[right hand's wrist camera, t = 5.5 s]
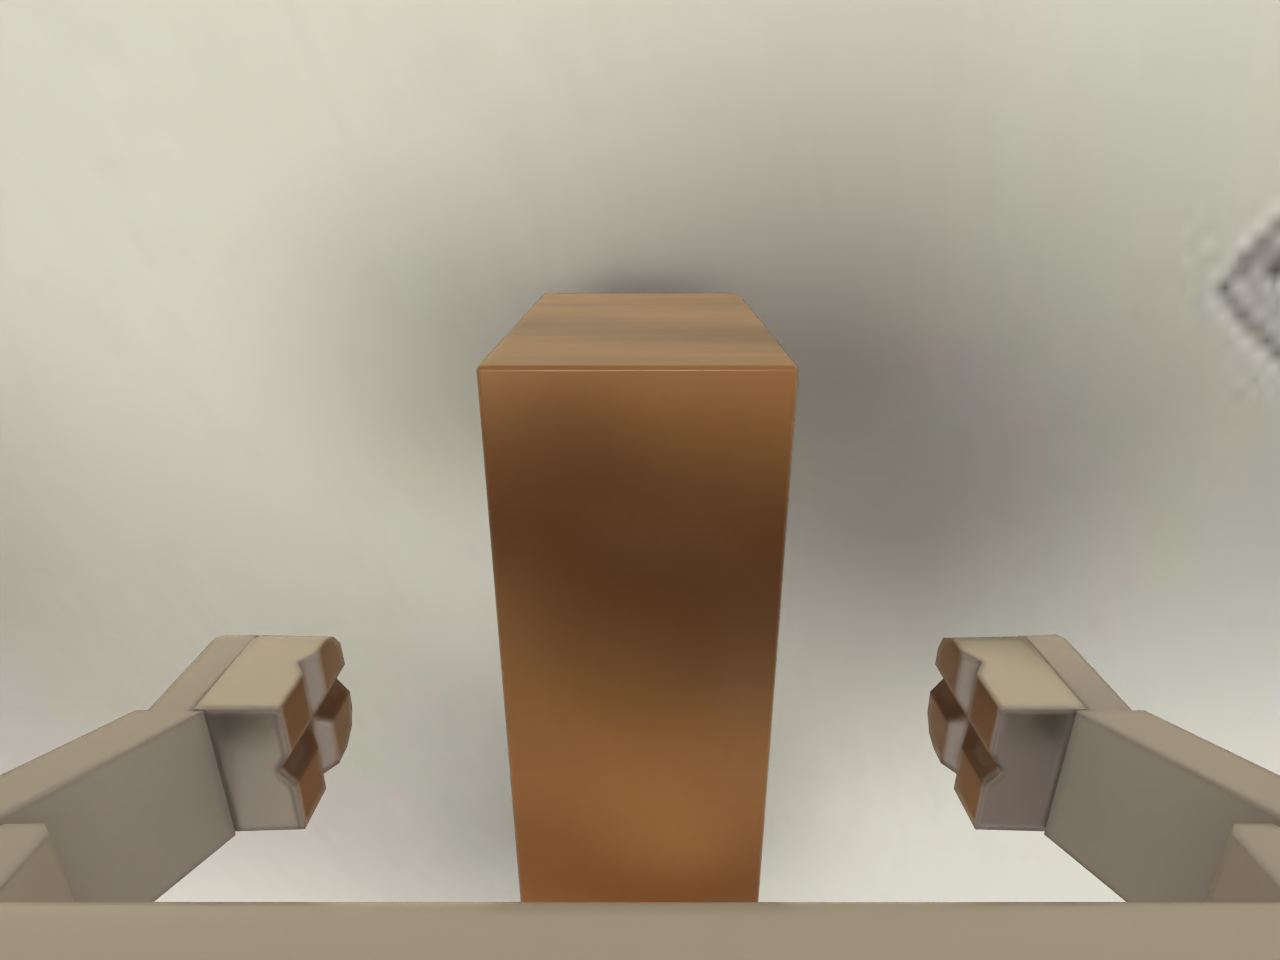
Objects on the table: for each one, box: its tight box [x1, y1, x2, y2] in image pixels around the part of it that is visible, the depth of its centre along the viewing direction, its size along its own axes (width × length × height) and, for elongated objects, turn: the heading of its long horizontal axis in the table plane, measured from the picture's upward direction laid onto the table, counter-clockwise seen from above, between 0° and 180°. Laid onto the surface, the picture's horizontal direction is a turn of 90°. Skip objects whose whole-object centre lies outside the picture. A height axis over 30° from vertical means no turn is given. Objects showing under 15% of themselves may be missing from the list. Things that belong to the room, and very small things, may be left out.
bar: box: [477, 293, 798, 902], centre depth 20 cm, size 27×5×8 cm, turn 0°
